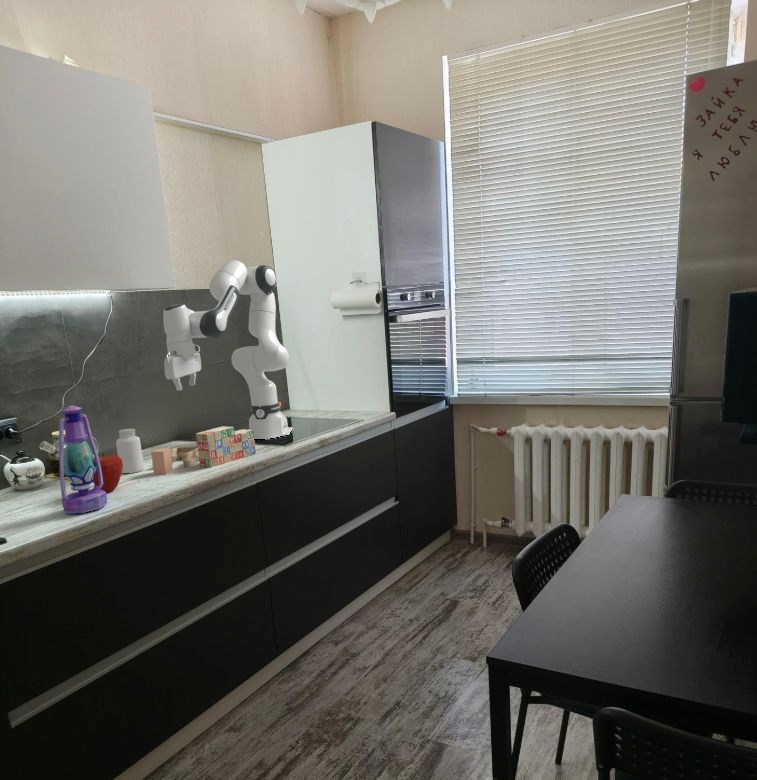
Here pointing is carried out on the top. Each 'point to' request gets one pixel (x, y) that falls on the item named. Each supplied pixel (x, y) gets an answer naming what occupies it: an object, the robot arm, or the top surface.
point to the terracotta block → (162, 461)
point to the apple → (109, 472)
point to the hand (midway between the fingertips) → (186, 387)
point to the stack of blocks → (224, 445)
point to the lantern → (79, 464)
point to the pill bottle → (130, 451)
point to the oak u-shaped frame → (185, 455)
